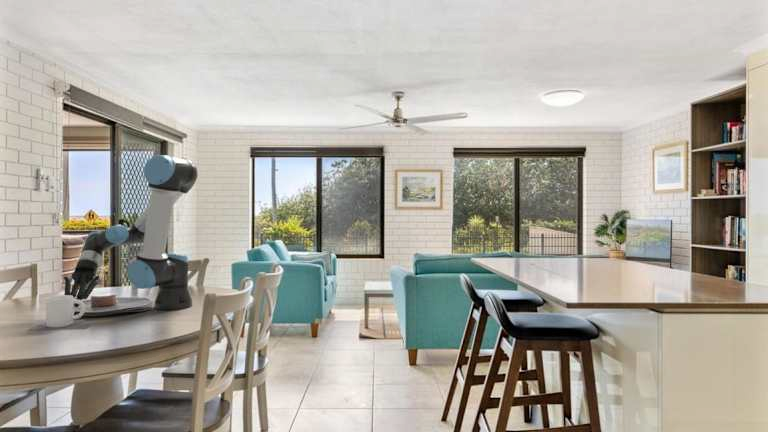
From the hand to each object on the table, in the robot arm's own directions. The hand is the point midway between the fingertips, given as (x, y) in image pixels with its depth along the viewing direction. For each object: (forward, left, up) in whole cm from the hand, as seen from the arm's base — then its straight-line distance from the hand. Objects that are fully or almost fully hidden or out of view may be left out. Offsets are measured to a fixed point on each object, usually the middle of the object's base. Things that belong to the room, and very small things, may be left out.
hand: (69, 314), depth 179 cm
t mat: (-1, +5, -3) cm, 6 cm away
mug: (-1, +5, -3) cm, 6 cm away
